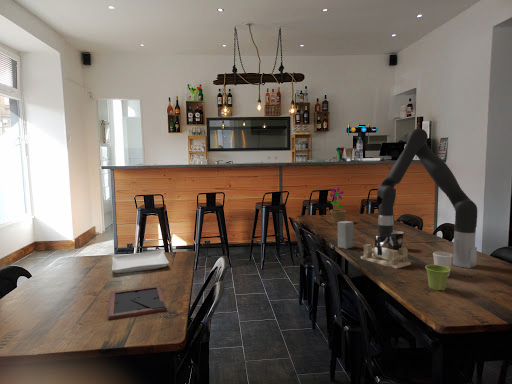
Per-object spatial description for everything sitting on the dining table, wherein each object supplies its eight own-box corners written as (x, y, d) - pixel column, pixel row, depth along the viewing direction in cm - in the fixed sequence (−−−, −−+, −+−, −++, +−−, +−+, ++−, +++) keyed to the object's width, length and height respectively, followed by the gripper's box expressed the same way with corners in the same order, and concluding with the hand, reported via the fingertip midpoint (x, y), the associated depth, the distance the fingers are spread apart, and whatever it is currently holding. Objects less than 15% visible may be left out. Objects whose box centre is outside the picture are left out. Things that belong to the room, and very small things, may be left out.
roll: (404, 262, 182) (404, 250, 181) (397, 264, 178) (397, 252, 178) (373, 254, 197) (373, 243, 197) (366, 256, 194) (366, 245, 194)
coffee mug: (400, 247, 218) (401, 230, 217) (405, 250, 209) (405, 233, 208) (381, 246, 219) (381, 230, 218) (384, 250, 210) (385, 233, 209)
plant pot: (452, 287, 149) (453, 267, 149) (446, 294, 142) (447, 273, 142) (428, 282, 156) (429, 263, 155) (421, 288, 149) (422, 268, 148)
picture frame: (167, 312, 131) (160, 289, 155) (166, 306, 131) (160, 284, 154) (108, 321, 124) (110, 295, 148) (108, 315, 124) (110, 291, 148)
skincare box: (346, 249, 214) (346, 223, 213) (336, 247, 220) (336, 221, 218) (354, 246, 219) (354, 221, 218) (344, 244, 225) (345, 220, 223)
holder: (410, 264, 182) (411, 249, 181) (396, 268, 176) (396, 252, 175) (375, 255, 200) (375, 241, 200) (360, 258, 194) (360, 244, 193)
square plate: (163, 256, 206) (162, 249, 206) (169, 269, 181) (169, 262, 180) (112, 262, 196) (112, 255, 196) (112, 277, 171) (111, 269, 171)
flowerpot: (343, 220, 310) (344, 186, 307) (349, 223, 295) (349, 187, 293) (327, 221, 309) (327, 186, 306) (332, 224, 294) (332, 188, 292)
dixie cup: (452, 279, 160) (453, 257, 159) (431, 276, 164) (432, 254, 163) (452, 273, 167) (453, 252, 166) (432, 271, 171) (433, 250, 170)
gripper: (382, 226, 179) (382, 257, 181) (400, 223, 187) (399, 253, 188) (370, 224, 185) (370, 254, 187) (388, 221, 193) (387, 250, 195)
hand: (385, 254), depth 188 cm, fingers open, 8 cm apart
